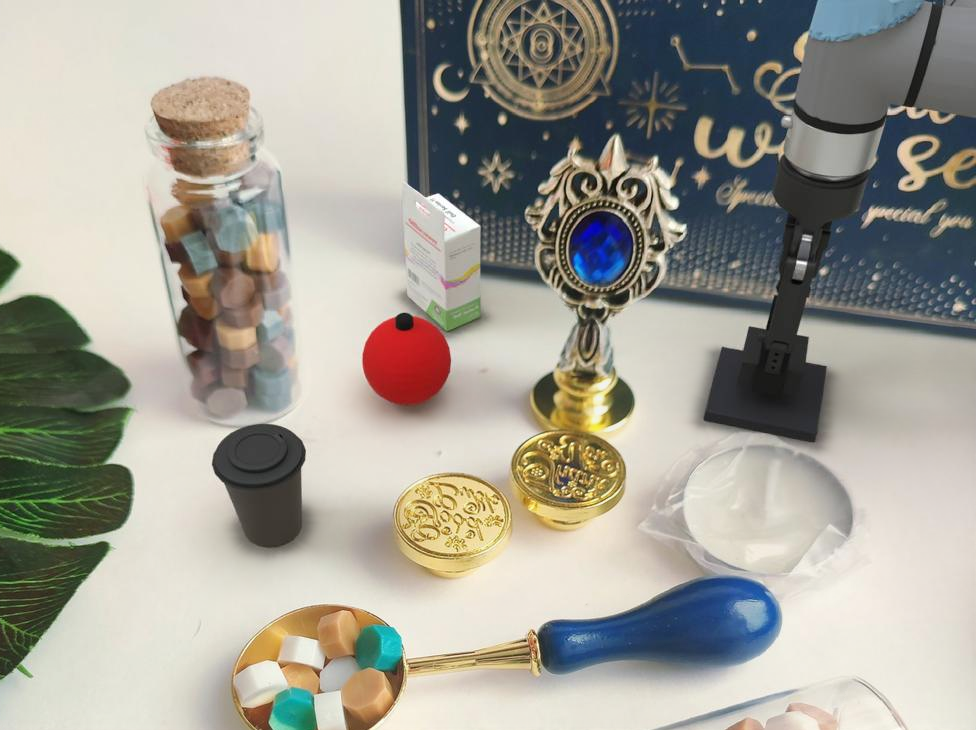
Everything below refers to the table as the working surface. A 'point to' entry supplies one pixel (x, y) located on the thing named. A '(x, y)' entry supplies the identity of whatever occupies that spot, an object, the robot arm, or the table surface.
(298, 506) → the coffee cup
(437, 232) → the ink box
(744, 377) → the dark grey square block
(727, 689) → the table surface
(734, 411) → the base pad
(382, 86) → the table surface
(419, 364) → the ornament
